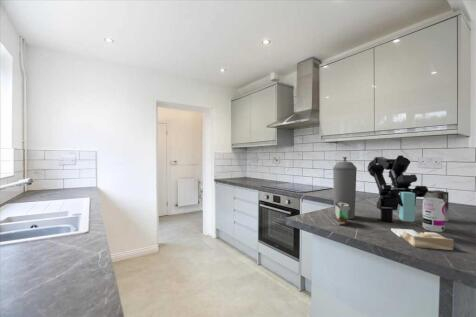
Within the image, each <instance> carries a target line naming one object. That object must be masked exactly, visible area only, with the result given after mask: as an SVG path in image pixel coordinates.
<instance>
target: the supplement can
mask: <svg viewBox="0 0 476 317" xmlns="http://www.w3.org/2000/svg"><path fill="white" fill-rule="evenodd" d="M421 218H422V222H421V223H422V228H423V229H424V230H426V231H430V232H433V233H443V231H445V222H446V221H445V202H444V201H443V199H439V198H424V197H423V200H422V217H421Z"/></svg>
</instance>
